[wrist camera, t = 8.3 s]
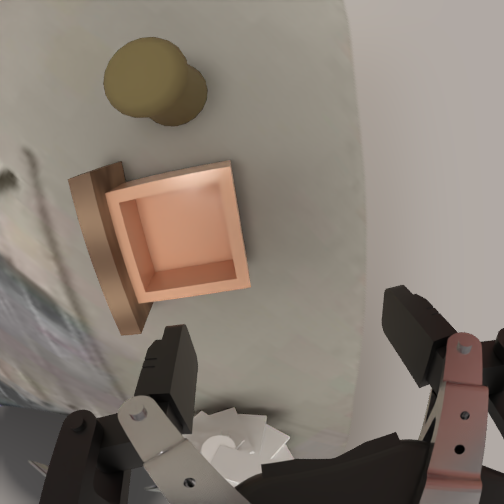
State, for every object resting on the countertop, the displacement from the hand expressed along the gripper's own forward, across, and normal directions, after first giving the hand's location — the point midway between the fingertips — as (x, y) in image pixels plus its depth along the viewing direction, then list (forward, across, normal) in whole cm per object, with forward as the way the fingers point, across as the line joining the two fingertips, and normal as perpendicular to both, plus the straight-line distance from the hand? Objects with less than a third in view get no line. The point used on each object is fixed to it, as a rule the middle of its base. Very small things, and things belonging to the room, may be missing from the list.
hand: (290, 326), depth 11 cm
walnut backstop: (+18, +12, 0) cm, 22 cm away
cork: (+18, +6, -12) cm, 22 cm away
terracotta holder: (+18, +6, 0) cm, 19 cm away
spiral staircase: (+18, +8, +36) cm, 41 cm away
